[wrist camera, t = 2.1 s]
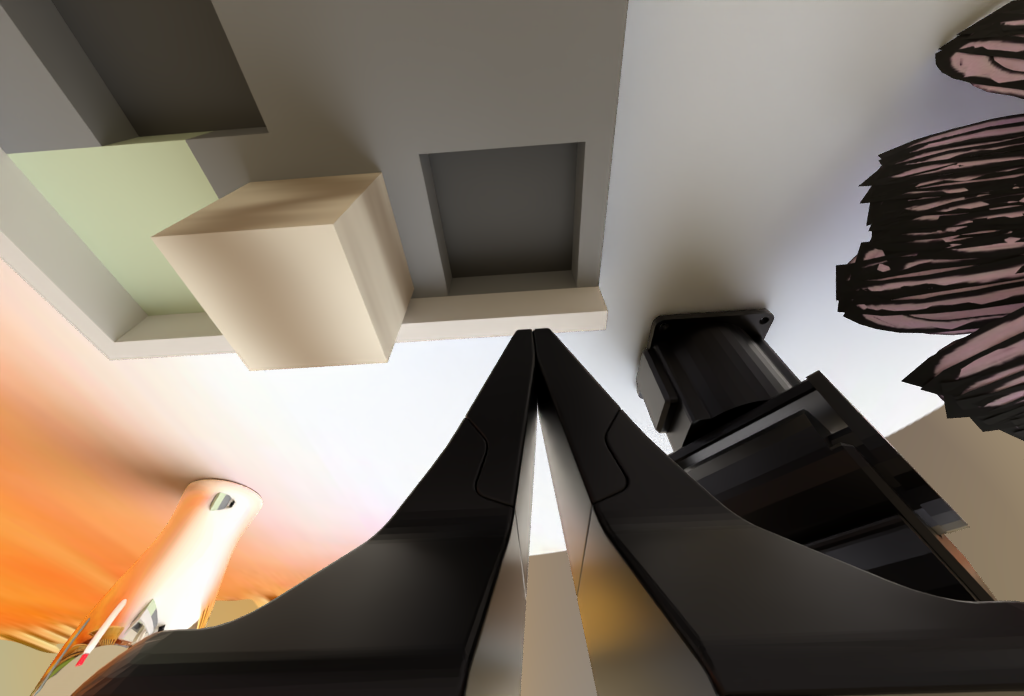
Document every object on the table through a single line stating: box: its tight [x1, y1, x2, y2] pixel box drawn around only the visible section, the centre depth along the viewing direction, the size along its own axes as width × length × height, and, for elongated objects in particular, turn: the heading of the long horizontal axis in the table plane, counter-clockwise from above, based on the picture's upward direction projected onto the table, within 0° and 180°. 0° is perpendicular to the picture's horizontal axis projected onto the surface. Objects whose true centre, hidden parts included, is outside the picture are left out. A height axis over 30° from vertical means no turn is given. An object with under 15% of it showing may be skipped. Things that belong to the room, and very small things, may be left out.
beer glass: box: [30, 479, 263, 696], centre depth 27 cm, size 7×7×15 cm
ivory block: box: [150, 172, 414, 371], centre depth 13 cm, size 5×5×5 cm
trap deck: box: [0, 0, 628, 361], centre depth 12 cm, size 22×16×4 cm
